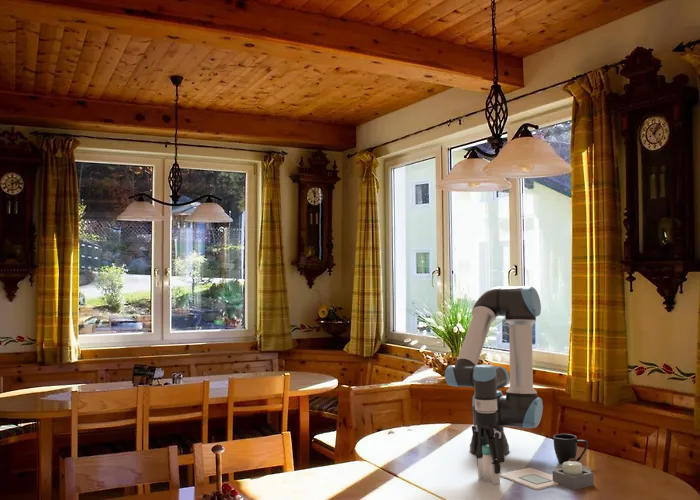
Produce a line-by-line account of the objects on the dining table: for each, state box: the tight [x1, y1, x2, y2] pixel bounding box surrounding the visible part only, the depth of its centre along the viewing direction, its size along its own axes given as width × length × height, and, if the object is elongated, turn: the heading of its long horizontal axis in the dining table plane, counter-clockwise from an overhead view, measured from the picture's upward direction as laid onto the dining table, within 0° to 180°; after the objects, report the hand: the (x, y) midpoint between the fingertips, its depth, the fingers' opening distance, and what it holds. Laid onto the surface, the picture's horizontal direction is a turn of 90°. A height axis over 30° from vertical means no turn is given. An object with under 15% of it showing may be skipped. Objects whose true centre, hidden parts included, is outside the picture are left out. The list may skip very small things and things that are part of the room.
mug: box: [552, 433, 589, 465], centre depth 235 cm, size 8×12×10 cm
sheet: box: [500, 467, 559, 491], centre depth 219 cm, size 18×14×1 cm
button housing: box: [551, 468, 595, 491], centre depth 212 cm, size 9×9×4 cm
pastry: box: [554, 457, 592, 472], centre depth 226 cm, size 12×12×5 cm
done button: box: [562, 461, 583, 476], centre depth 212 cm, size 6×6×4 cm
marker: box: [482, 445, 493, 483], centre depth 219 cm, size 4×4×12 cm
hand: (489, 479), depth 219 cm, fingers open, 6 cm apart
